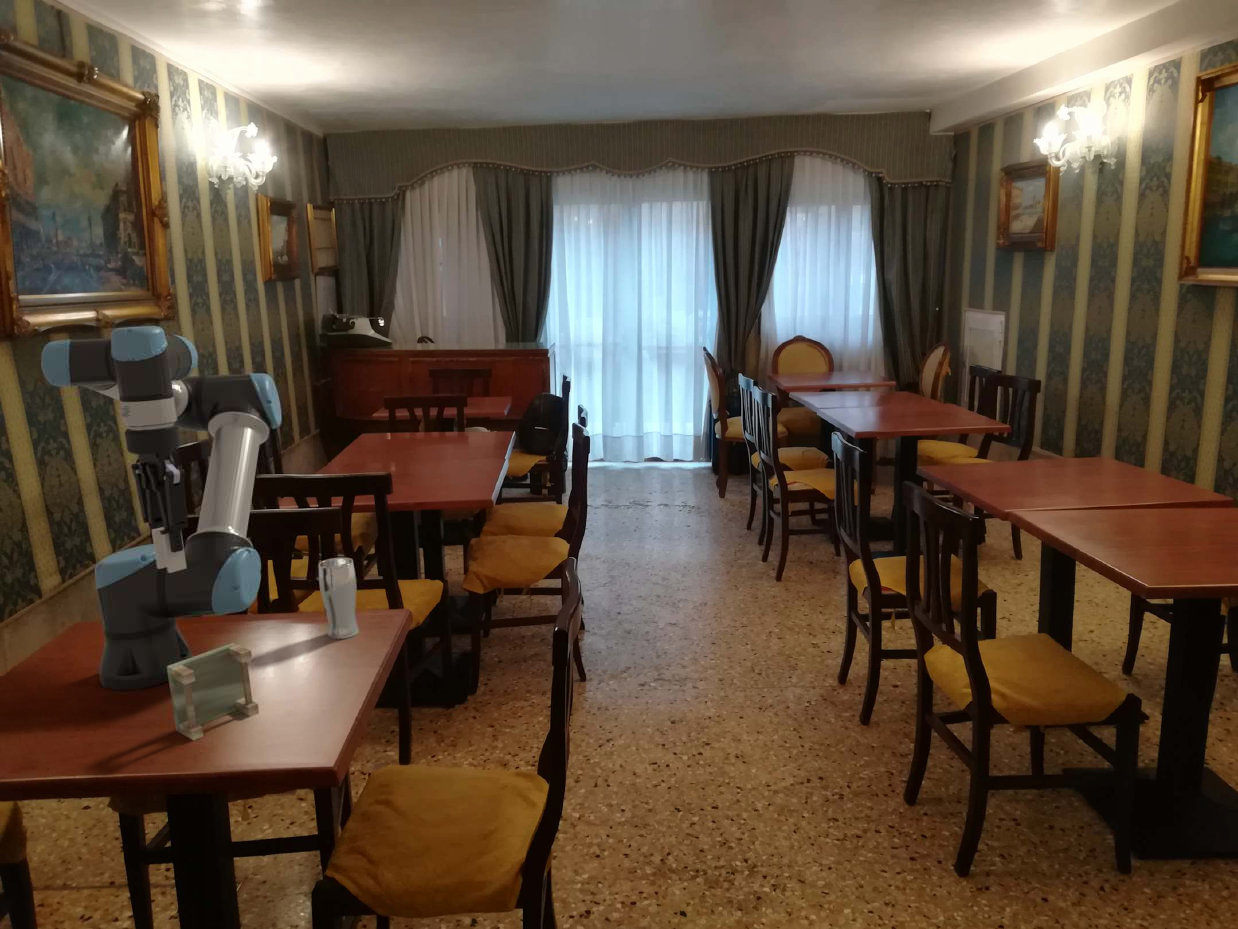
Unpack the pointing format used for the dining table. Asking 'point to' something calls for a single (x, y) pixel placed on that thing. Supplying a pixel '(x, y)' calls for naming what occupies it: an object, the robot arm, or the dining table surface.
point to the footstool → (210, 688)
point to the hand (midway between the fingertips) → (171, 568)
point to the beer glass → (339, 596)
